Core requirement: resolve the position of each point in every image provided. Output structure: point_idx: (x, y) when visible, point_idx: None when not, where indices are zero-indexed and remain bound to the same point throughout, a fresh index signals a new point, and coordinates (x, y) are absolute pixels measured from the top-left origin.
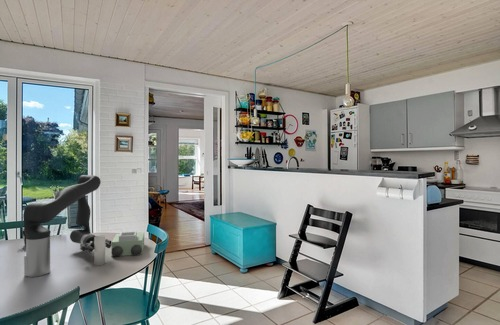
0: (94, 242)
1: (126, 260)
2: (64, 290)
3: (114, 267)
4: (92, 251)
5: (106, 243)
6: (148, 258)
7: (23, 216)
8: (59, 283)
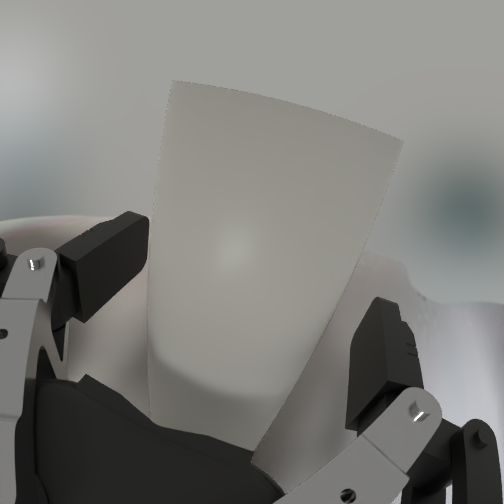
0: (362, 248)
1: None
2: (457, 307)
3: None
4: (355, 337)
5: (86, 261)
6: (44, 224)
7: None
8: (477, 360)
